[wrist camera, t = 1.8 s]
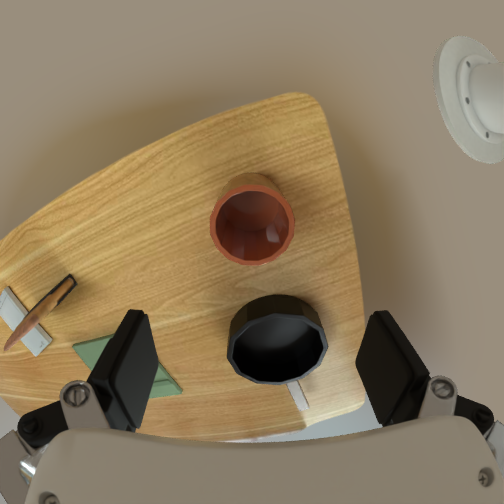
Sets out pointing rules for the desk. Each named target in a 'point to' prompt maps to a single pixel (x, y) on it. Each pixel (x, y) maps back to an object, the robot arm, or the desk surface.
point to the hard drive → (14, 315)
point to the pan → (277, 343)
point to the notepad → (93, 350)
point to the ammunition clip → (41, 310)
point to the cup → (251, 220)
